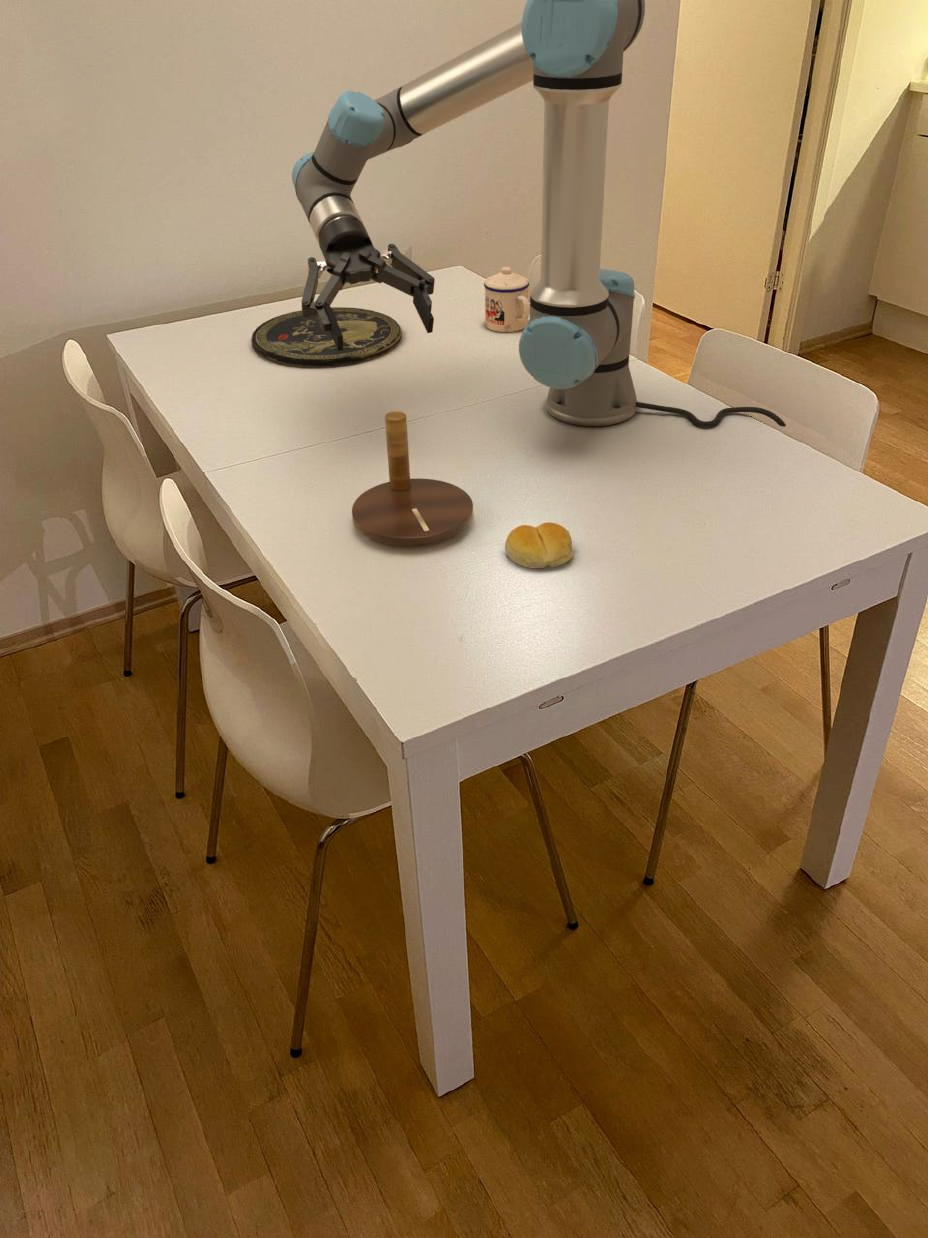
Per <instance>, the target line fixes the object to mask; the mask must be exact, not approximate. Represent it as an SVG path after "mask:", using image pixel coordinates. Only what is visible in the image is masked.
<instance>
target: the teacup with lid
mask: <svg viewBox="0 0 928 1238" xmlns="http://www.w3.org/2000/svg"><path fill="white" fill-rule="evenodd" d="M529 286H530V282H529V280H528V278H527V277H526V276H523V275H520V274H518V273H516V272H514V271H512V267H510V266H503V267H502V268H501V271H499V272H497V273H496V274H494V275H490V276H488V277H487V278H486V279H485V280H484V281H483V287H484V315H485V316H484V317H485V318H484V322H485V323H484V325H485V326H486V328H487V329H489V330H490V331H493V332H499V333H513V332H518V331H521V330H522V331H523V330H524V328H525V327H526V326H527V325H528V318H530V300H529Z"/></svg>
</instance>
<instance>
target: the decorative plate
mask: <svg viewBox="0 0 928 1238" xmlns="http://www.w3.org/2000/svg"><path fill="white" fill-rule="evenodd" d="M330 307H331V309H332V311H333V314H334V316H335V318H336V321H337V323H338V325H339V328H340V330H341V332H342V335H343V350H340V351H338V350H337V348H336V345H335V343H334V340H333V338H332V336H331V333H330V331H327V332H324V331H323V330H322V328H321V326H320V324H319V322H317V321H316V320H315V316H313V315H310V316H309V317H303V316H302V309H300V310H295V311H291V312H288V313H283V314H281V315H278V316H275V317H272V318H270V319H268V320H266V321H265V322H262V323H260V325H259V326H258V327H256V329H255V330H254V331H253V332H252V335H251V341H250V342H251V346H252V348H253V350H254V352H256V353H257V354H258V355H259V356H260V357H262V358H264V359H265V360H269V361H271V362H274V363H277V364H280V365H281V364H282V365H286V366H292V367H294V366H295V367H302V368H331V367H332V368H333V367H340V366H341V367H342V366H350V365H354V364H357V363H358V364H359V363H364V362H367V361H370V360H373V359H376V358H378V357H381V356H384V355H385V354H388V353H389V352H391V351H392V350H394V349H395V348H396V347H398V345H399V344H400V342H401V340H402V337H403V336H402V329H401V326H400V324H399V323H398V322H397V320H395V319H394V318H393V317H391V316H389V315H387V314H385V313H382V312H379V311H375V310H372V309H366V308H359V307H347V306H346V307H345V306H330Z"/></svg>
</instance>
